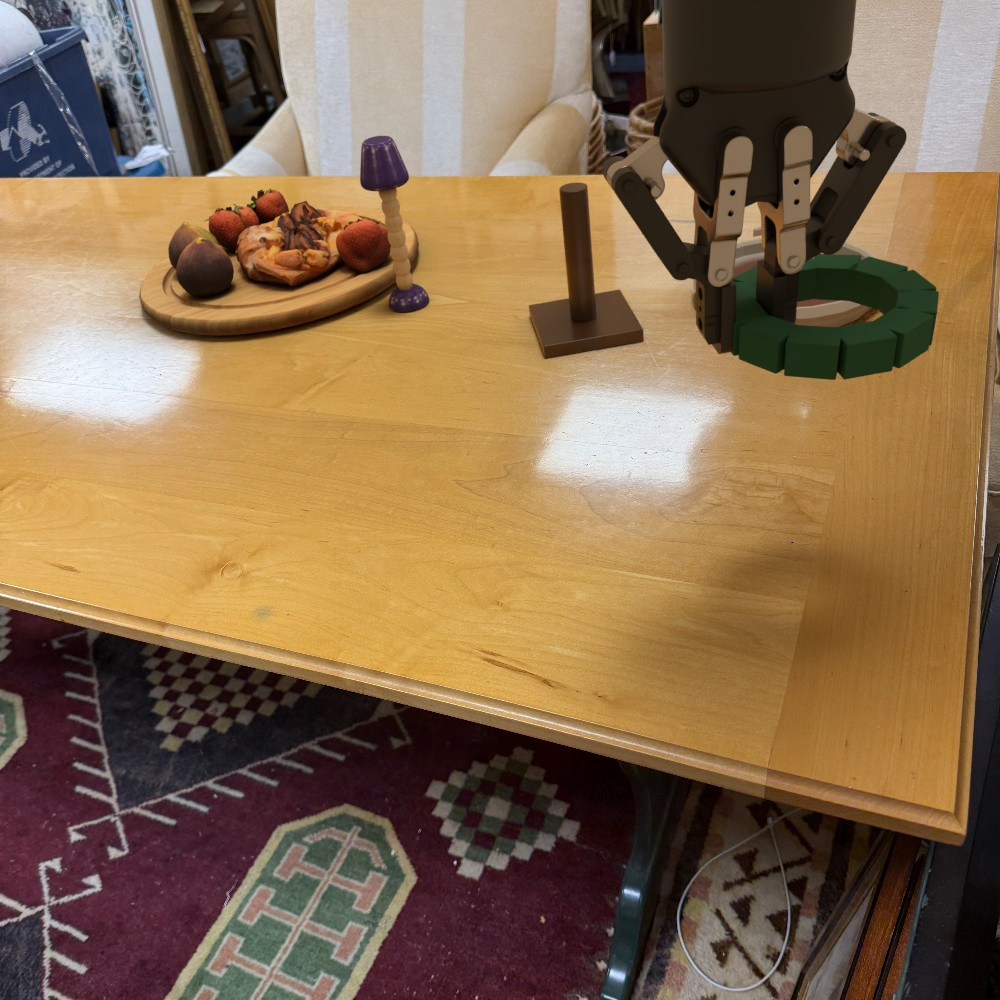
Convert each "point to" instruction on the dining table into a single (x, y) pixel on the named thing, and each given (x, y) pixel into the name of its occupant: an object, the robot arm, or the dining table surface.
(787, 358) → the ring
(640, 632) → the dining table surface
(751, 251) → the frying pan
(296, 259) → the wooden plate
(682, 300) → the dining table surface
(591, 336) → the post
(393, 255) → the toy lamp
